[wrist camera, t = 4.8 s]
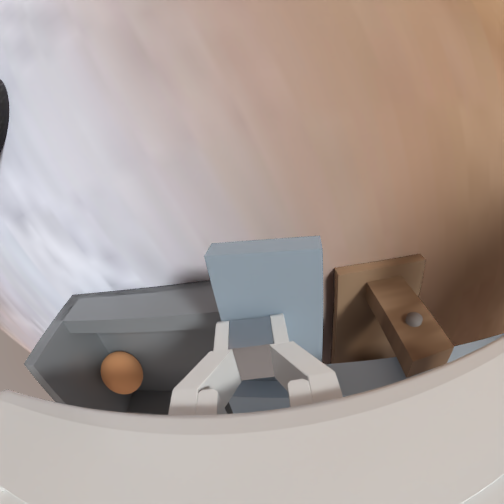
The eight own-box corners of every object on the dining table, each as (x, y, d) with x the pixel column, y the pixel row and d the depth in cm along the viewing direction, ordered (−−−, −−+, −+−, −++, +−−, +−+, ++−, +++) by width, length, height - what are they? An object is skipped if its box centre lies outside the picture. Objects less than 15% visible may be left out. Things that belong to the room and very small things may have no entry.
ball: (90, 352, 17) (126, 336, 18) (109, 380, 18) (142, 365, 20) (96, 381, 14) (137, 363, 16) (118, 408, 16) (155, 392, 17)
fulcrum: (419, 253, 16) (484, 324, 9) (395, 360, 20) (425, 427, 14) (334, 267, 16) (379, 359, 9) (329, 376, 20) (348, 452, 14)
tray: (236, 277, 16) (231, 374, 10) (260, 388, 21) (264, 464, 15) (72, 295, 17) (23, 363, 10) (130, 390, 22) (111, 453, 15)
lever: (566, 224, 7) (595, 247, 4) (502, 375, 12) (514, 402, 10) (187, 245, 11) (158, 285, 8) (240, 412, 16) (233, 447, 14)
